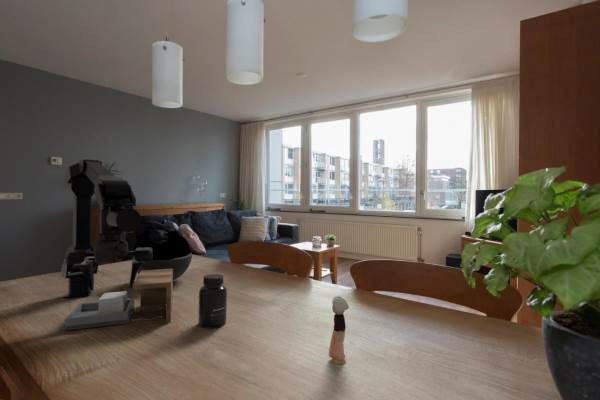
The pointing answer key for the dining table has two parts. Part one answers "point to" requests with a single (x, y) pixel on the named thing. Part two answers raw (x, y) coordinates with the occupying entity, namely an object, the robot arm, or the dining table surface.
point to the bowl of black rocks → (166, 253)
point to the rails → (145, 318)
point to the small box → (113, 302)
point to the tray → (96, 316)
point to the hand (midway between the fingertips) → (111, 288)
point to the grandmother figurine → (338, 330)
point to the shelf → (156, 289)
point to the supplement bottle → (212, 302)
